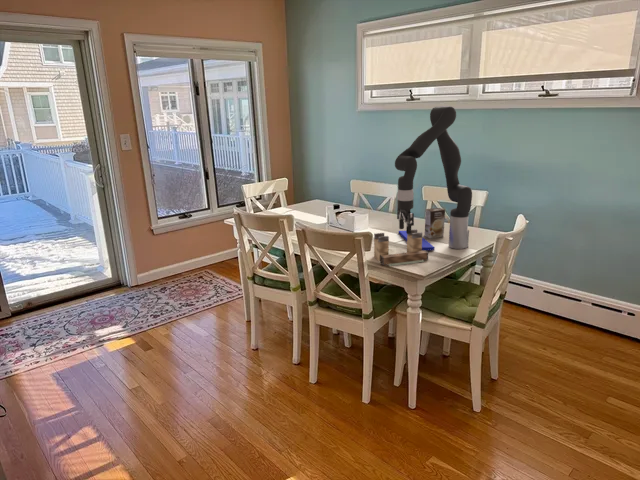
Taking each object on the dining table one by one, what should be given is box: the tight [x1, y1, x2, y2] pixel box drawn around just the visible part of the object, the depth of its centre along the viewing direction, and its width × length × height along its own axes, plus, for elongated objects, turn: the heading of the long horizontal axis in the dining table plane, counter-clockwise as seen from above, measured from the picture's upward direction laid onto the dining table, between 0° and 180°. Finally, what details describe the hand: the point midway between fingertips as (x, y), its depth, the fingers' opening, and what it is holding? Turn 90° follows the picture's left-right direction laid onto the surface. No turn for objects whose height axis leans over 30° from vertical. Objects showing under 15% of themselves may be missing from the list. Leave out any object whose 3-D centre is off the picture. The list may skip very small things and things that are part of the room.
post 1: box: [373, 232, 390, 262], centre depth 224 cm, size 5×7×12 cm
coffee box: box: [424, 207, 446, 239], centre depth 255 cm, size 9×6×16 cm
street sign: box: [398, 230, 435, 251], centre depth 249 cm, size 34×3×10 cm
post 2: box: [406, 229, 423, 253], centre depth 227 cm, size 5×7×12 cm
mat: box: [387, 260, 425, 267], centre depth 220 cm, size 18×7×1 cm, turn 103°
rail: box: [379, 250, 429, 266], centre depth 219 cm, size 24×4×4 cm, turn 103°
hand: (405, 231), depth 215 cm, fingers open, 8 cm apart
